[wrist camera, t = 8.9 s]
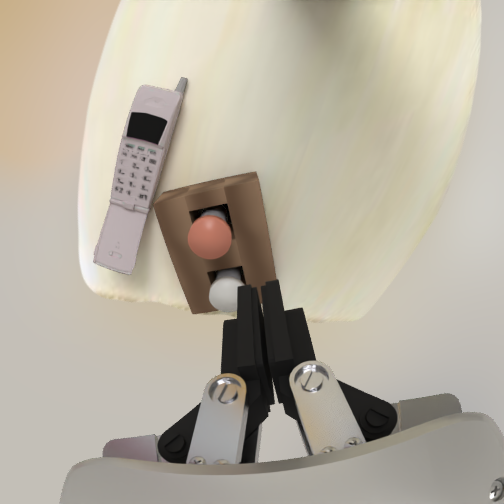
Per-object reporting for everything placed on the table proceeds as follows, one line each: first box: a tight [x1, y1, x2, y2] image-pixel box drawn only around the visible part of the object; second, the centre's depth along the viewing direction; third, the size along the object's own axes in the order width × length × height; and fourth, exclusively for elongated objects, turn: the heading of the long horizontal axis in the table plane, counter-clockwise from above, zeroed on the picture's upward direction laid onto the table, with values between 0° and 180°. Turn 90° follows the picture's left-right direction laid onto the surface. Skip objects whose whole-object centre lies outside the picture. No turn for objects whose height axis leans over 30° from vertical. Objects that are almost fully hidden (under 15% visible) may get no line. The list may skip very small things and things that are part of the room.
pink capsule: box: [188, 205, 232, 259], centre depth 31 cm, size 4×4×7 cm
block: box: [153, 172, 277, 314], centre depth 35 cm, size 12×16×5 cm
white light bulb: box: [209, 266, 244, 312], centre depth 35 cm, size 4×4×7 cm
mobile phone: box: [93, 77, 187, 275], centre depth 29 cm, size 6×6×25 cm
